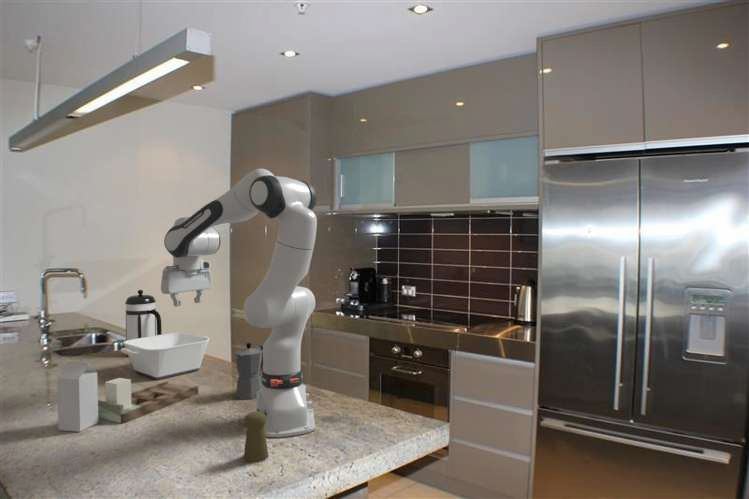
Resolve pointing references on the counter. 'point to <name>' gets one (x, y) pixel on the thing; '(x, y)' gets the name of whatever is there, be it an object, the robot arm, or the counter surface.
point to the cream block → (118, 392)
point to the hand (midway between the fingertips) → (187, 304)
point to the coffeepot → (249, 371)
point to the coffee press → (141, 317)
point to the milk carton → (77, 397)
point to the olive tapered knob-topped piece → (255, 437)
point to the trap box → (145, 402)
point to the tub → (166, 354)
